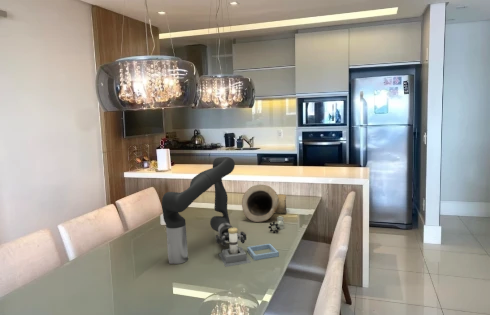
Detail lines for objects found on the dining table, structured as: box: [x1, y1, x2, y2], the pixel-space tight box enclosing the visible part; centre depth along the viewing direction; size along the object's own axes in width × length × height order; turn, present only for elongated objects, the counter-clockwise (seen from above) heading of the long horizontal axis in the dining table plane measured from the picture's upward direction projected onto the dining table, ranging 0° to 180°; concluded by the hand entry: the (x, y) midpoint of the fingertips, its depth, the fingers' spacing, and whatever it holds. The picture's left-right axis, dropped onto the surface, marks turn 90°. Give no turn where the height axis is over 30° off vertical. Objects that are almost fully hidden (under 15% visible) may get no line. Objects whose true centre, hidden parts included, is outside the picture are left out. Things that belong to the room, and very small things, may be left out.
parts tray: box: [246, 243, 280, 261], centre depth 177 cm, size 12×12×4 cm
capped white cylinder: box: [228, 227, 239, 255], centre depth 172 cm, size 4×4×14 cm
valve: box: [268, 216, 285, 234], centre depth 214 cm, size 7×7×12 cm
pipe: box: [241, 184, 287, 223], centre depth 244 cm, size 23×29×30 cm
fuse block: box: [218, 246, 252, 268], centre depth 173 cm, size 12×16×4 cm
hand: (234, 242), depth 171 cm, fingers open, 8 cm apart
